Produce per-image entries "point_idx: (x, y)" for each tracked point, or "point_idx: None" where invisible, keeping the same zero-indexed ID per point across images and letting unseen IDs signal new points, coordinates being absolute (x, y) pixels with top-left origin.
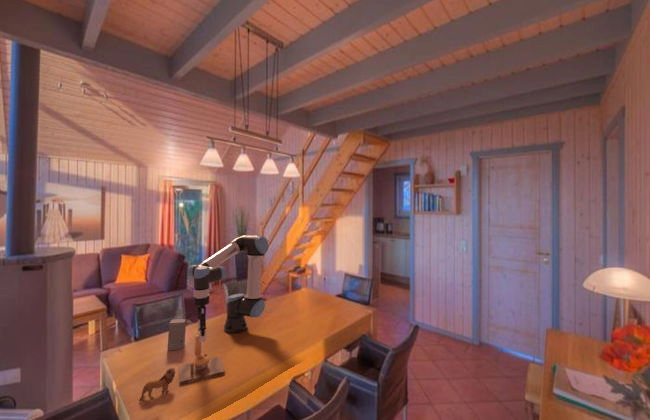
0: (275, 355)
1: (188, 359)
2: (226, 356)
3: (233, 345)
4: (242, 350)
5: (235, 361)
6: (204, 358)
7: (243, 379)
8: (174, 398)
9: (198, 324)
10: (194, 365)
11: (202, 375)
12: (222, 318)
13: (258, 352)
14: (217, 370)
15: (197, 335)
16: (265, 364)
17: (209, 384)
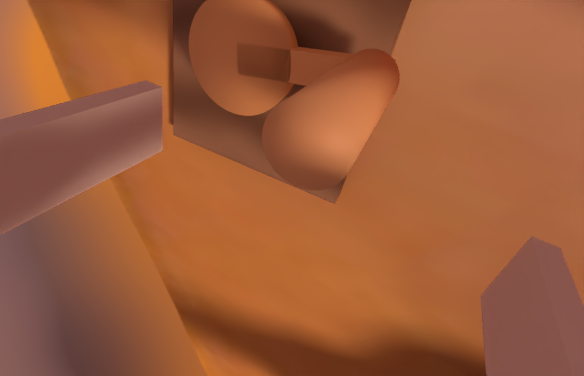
0: (221, 326)
1: (545, 25)
2: (345, 232)
3: (443, 328)
4: (346, 308)
5: (265, 225)
6: (248, 85)
7: None
8: None
9: (561, 368)
10: (336, 17)
11: (182, 17)
12: None
13: (279, 321)
14: (195, 111)
15: (323, 143)
16: (182, 270)
17: (132, 28)
